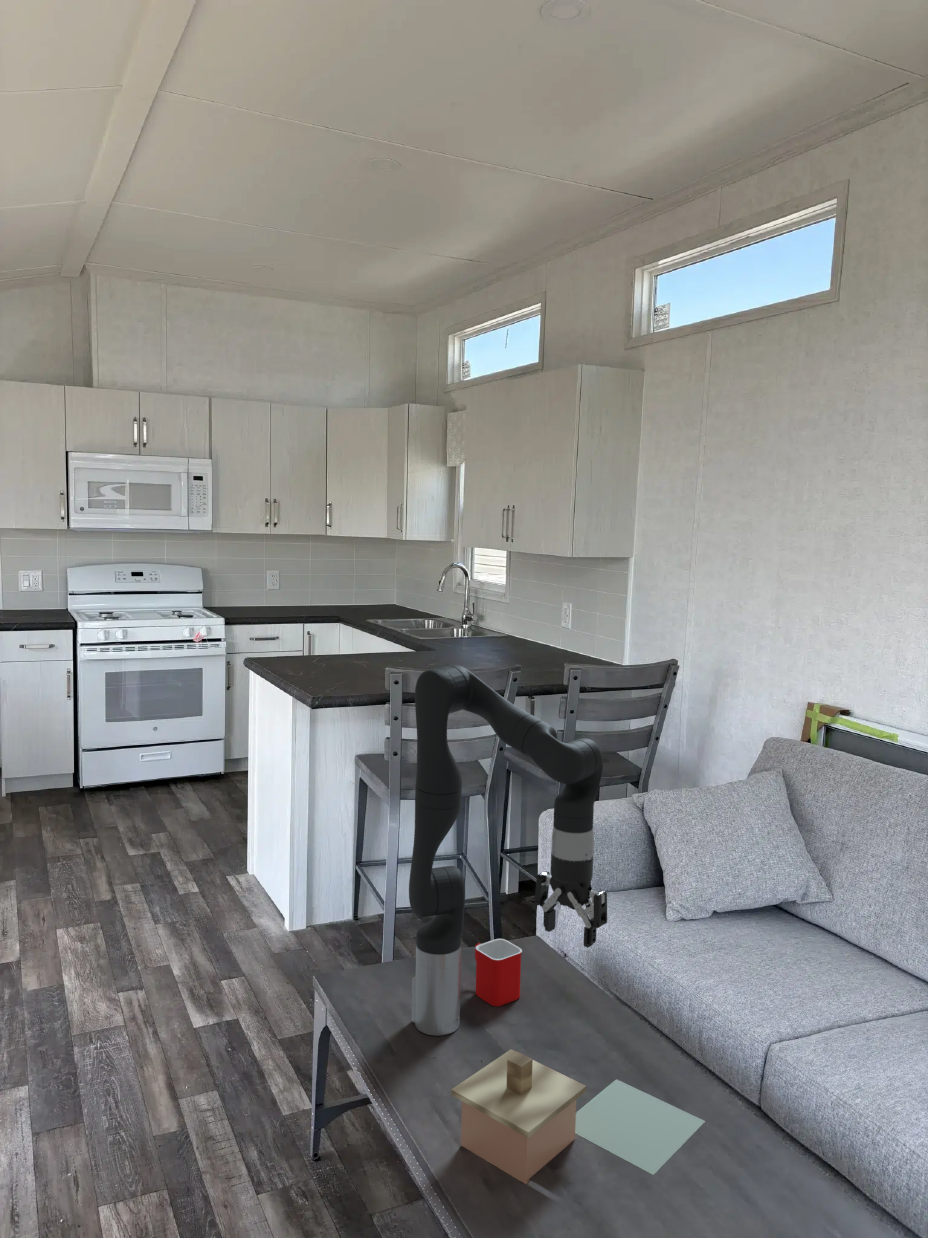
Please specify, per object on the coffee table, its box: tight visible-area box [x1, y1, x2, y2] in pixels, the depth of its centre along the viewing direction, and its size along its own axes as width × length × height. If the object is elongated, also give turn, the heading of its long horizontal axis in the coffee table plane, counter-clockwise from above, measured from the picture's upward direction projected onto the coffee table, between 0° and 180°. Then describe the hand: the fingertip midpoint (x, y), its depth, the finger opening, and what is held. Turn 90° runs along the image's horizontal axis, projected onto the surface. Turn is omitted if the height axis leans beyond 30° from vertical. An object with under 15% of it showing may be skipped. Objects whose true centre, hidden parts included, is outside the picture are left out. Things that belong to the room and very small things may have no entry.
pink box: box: [460, 1099, 577, 1185], centre depth 156 cm, size 14×14×9 cm
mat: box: [575, 1079, 706, 1176], centre depth 162 cm, size 18×18×1 cm
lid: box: [450, 1048, 587, 1138], centre depth 156 cm, size 16×16×6 cm
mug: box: [474, 938, 523, 1007], centre depth 206 cm, size 12×8×11 cm
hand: (569, 938), depth 168 cm, fingers open, 8 cm apart
